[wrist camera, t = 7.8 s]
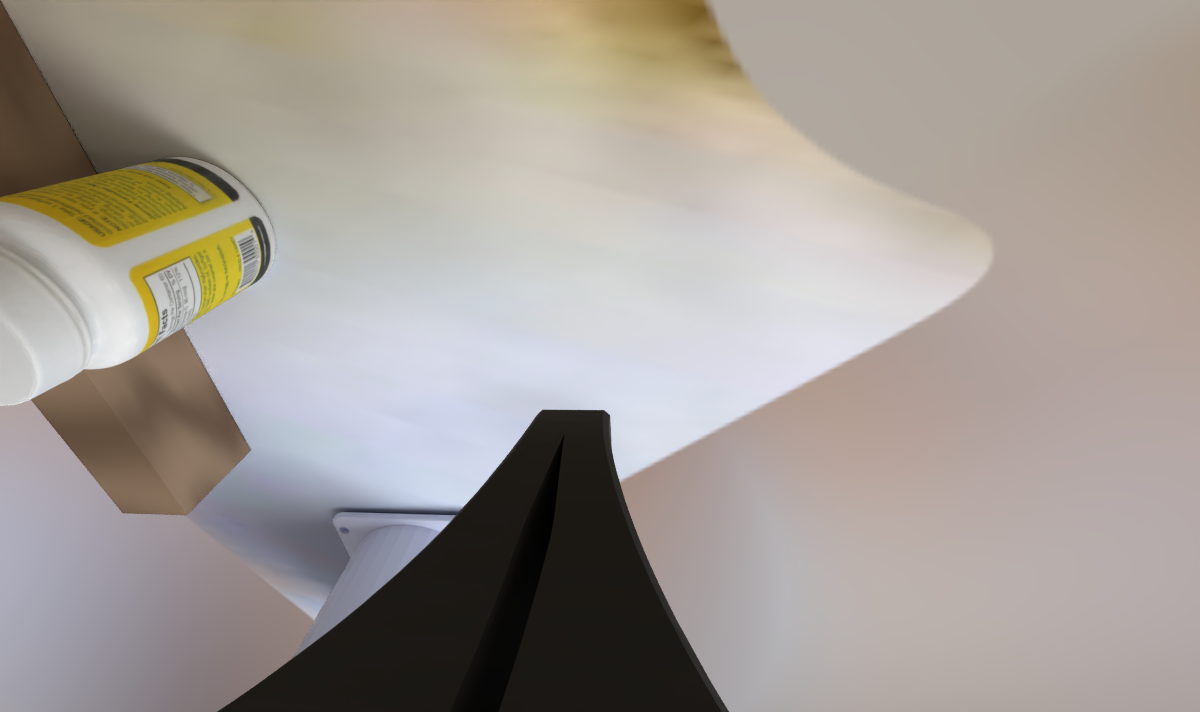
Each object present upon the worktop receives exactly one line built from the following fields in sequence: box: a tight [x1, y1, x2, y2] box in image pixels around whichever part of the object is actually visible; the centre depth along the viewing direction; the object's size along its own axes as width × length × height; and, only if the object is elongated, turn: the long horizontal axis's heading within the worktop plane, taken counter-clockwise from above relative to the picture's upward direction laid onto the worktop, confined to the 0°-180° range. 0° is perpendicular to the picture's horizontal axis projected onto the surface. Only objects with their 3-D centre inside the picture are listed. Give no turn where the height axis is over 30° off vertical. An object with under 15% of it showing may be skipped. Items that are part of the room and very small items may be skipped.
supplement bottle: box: [0, 157, 276, 406], centre depth 15 cm, size 5×5×8 cm
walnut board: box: [0, 1, 251, 515], centre depth 17 cm, size 22×3×4 cm, turn 3°
